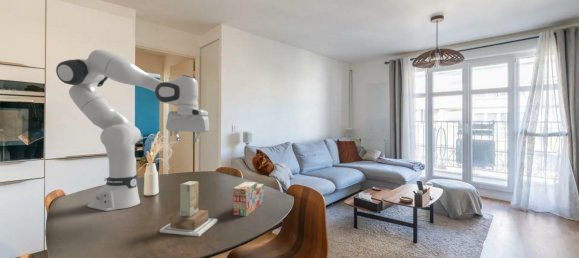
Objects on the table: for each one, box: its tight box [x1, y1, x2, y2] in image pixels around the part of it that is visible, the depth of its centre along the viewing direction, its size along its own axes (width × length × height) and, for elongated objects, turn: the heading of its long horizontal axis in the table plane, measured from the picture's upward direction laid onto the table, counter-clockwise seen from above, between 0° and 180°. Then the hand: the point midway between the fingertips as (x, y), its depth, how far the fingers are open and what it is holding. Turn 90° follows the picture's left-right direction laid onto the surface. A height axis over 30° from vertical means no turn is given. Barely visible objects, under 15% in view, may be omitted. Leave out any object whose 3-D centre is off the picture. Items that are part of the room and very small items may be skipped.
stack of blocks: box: [232, 181, 265, 217], centre depth 123 cm, size 21×6×12 cm, turn 164°
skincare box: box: [179, 180, 200, 217], centre depth 101 cm, size 6×4×12 cm
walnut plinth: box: [169, 209, 209, 231], centre depth 101 cm, size 10×10×4 cm
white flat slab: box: [159, 217, 218, 237], centre depth 101 cm, size 16×14×1 cm
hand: (187, 141), depth 119 cm, fingers open, 8 cm apart
